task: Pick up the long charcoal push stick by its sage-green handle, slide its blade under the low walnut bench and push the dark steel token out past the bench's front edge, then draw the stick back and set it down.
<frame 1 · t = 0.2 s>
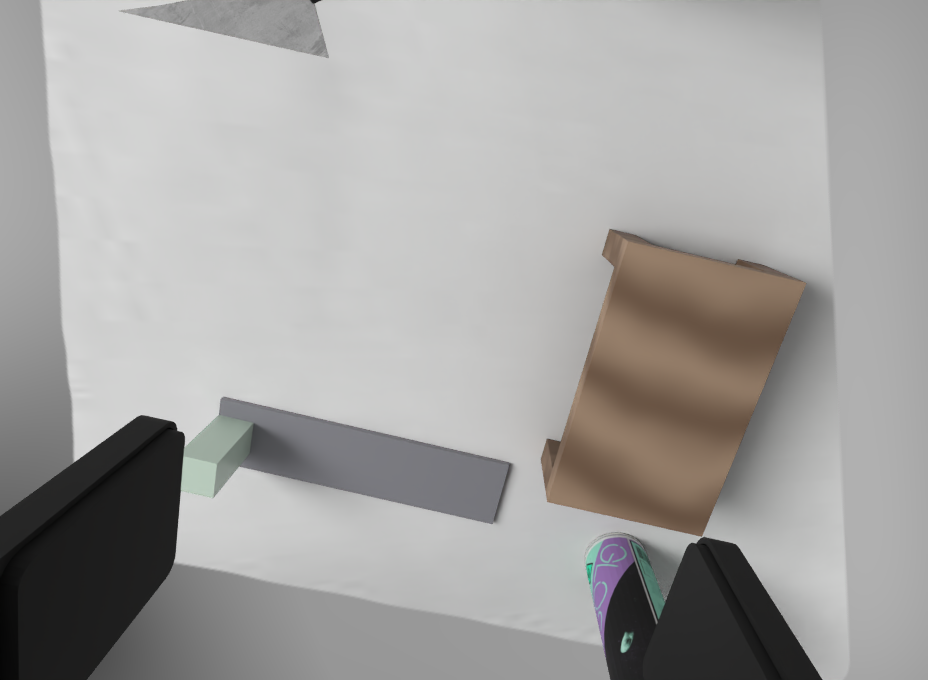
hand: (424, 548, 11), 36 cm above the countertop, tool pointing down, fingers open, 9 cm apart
walnut bench: (645, 368, 48), on the countertop
cleaver: (271, 46, 43), on the countertop
spray can: (614, 556, 53), on the countertop
push stick: (238, 430, 52), on the countertop
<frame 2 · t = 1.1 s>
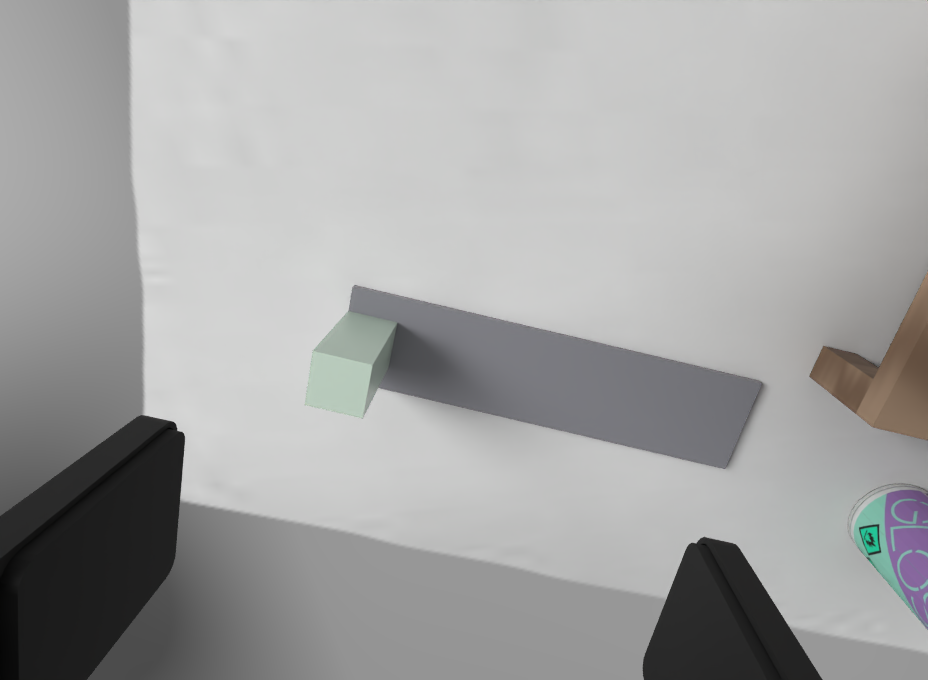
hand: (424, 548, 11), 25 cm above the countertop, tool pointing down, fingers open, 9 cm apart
spray can: (890, 518, 38), on the countertop
push stick: (371, 335, 37), on the countertop
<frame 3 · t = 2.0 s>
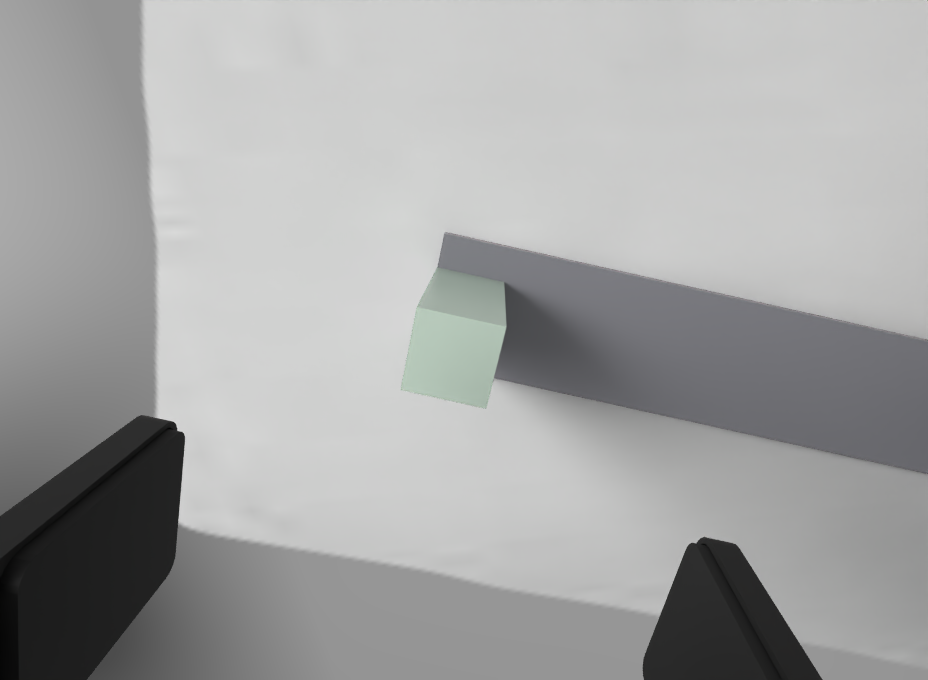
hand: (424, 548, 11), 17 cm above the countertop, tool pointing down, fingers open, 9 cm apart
push stick: (464, 302, 27), on the countertop
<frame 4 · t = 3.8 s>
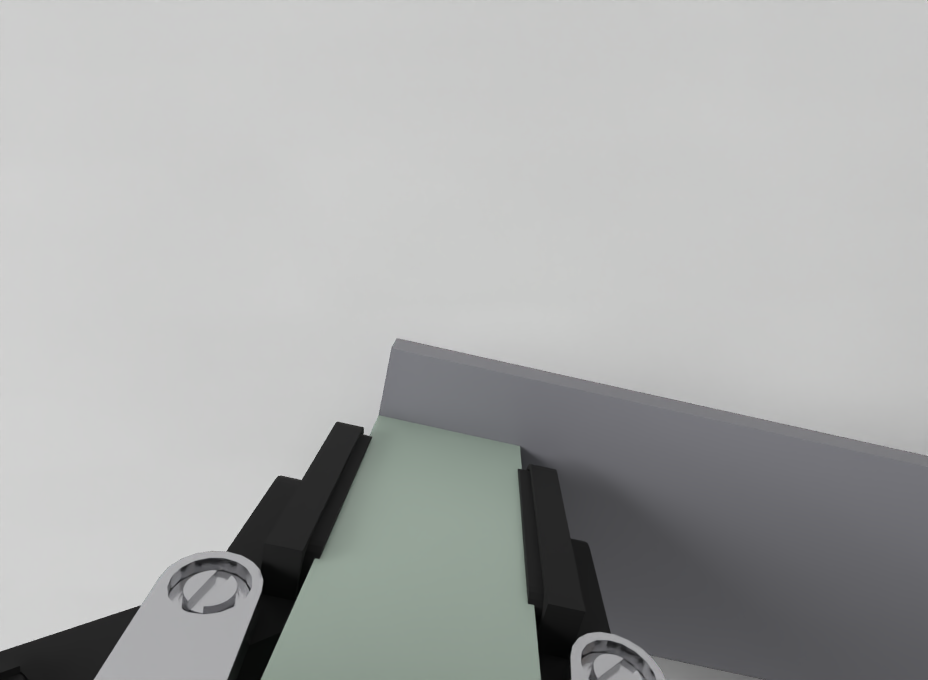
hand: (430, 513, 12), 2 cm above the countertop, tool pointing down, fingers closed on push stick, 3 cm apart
push stick: (438, 473, 14), on the countertop, touching gripper
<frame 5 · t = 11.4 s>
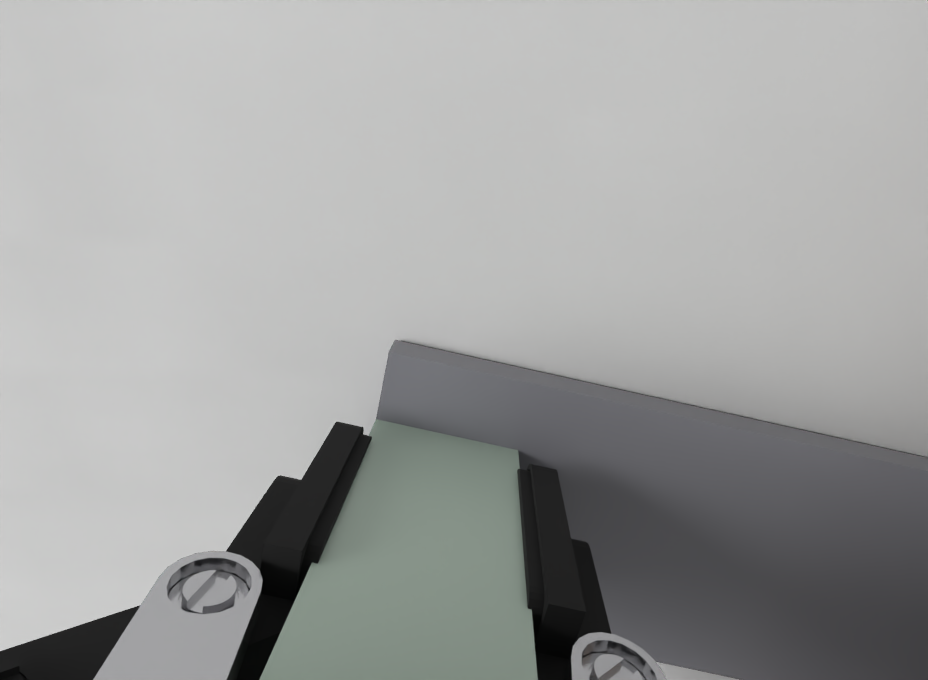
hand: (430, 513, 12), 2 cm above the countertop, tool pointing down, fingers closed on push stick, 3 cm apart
push stick: (436, 477, 13), on the countertop, touching gripper
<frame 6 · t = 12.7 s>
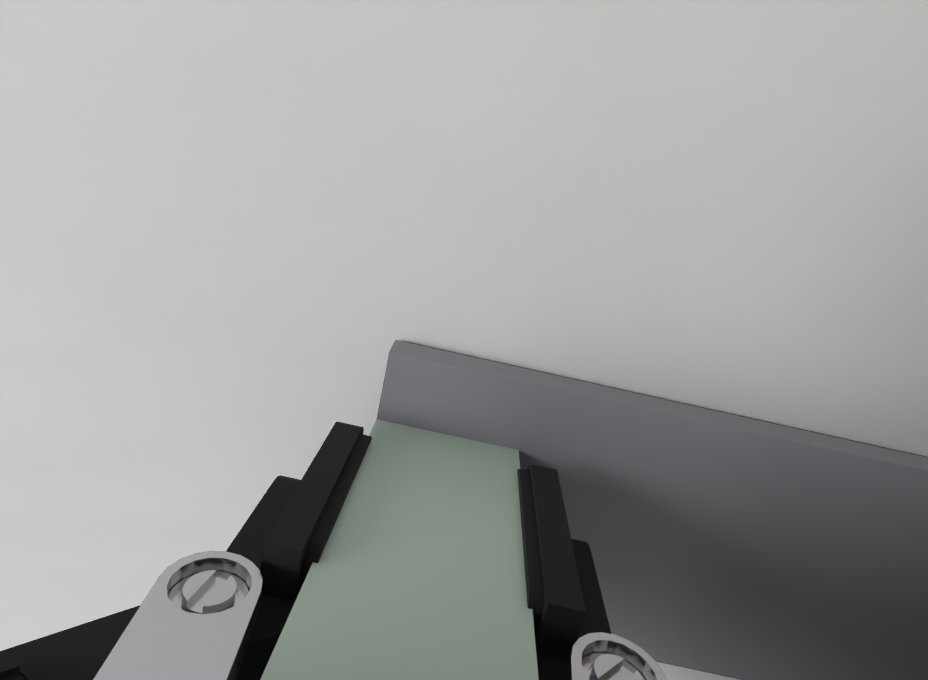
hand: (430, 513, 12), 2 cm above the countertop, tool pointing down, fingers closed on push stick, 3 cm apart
push stick: (436, 477, 13), on the countertop, touching gripper
when the fingers open (2 cm above the countertop, at t = 16.4 s): push stick drops 1 cm, on the countertop.
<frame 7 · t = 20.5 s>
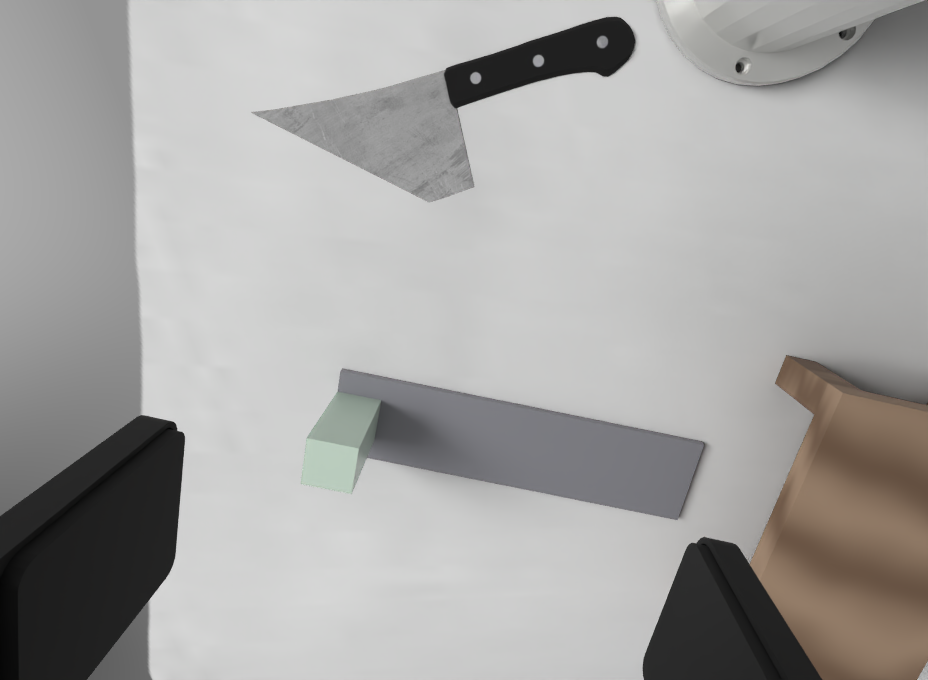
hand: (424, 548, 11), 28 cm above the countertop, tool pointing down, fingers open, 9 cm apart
walnut bench: (815, 505, 42), on the countertop
cleaver: (401, 154, 36), on the countertop
push stick: (358, 411, 41), on the countertop
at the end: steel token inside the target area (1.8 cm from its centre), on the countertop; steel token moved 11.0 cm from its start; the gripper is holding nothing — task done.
